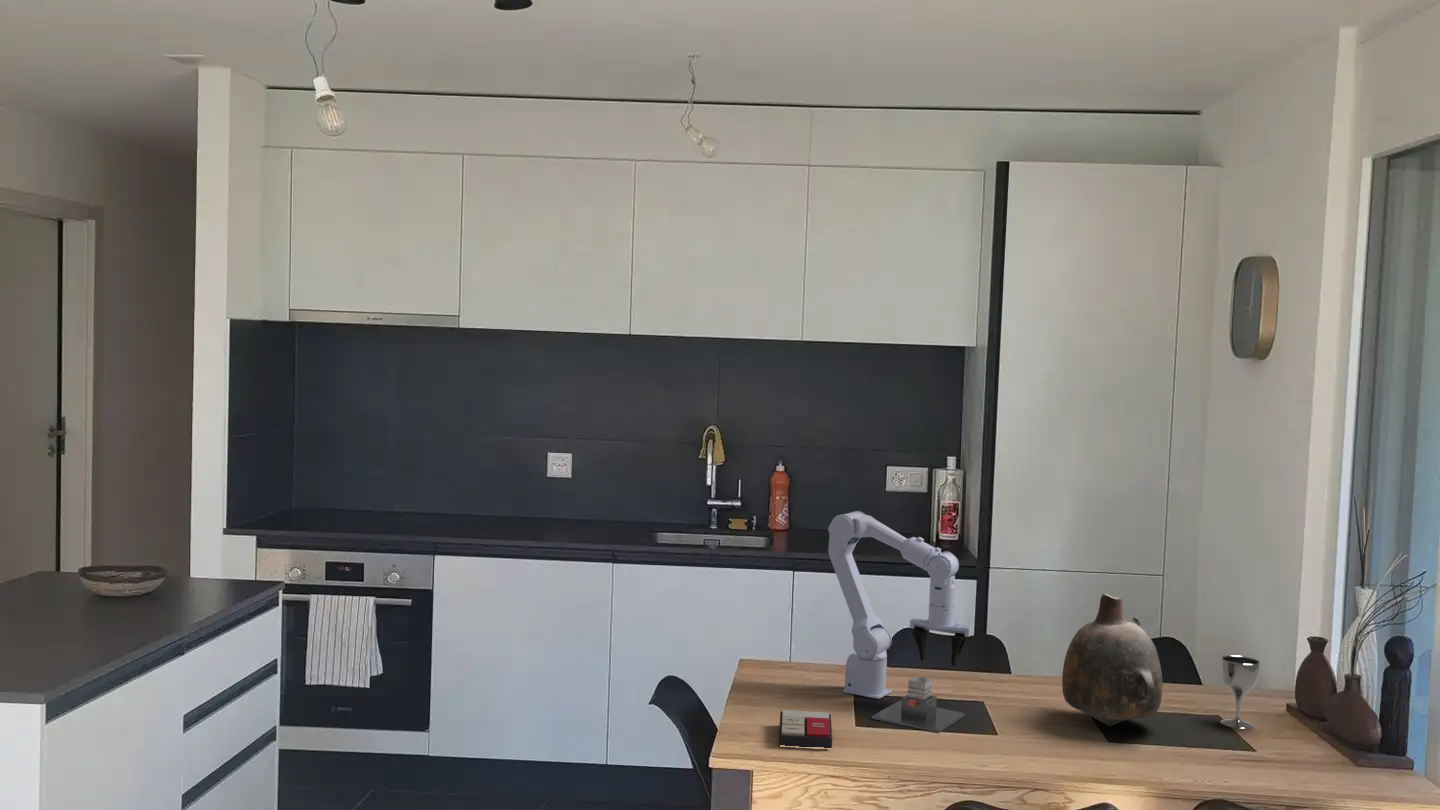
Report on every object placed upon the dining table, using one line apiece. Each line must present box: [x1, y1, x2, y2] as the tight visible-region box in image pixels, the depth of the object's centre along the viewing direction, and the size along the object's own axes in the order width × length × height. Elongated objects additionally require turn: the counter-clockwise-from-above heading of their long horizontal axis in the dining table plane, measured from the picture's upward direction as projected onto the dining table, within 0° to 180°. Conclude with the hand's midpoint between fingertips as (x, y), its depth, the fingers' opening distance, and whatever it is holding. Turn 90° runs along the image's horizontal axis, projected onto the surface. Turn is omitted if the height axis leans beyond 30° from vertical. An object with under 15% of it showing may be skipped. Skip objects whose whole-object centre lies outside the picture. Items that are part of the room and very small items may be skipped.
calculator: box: [778, 709, 833, 749], centre depth 256 cm, size 11×4×15 cm
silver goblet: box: [1220, 654, 1261, 730], centre depth 277 cm, size 8×8×15 cm
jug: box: [1061, 593, 1163, 727], centre depth 272 cm, size 24×21×30 cm
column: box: [907, 676, 933, 701], centre depth 273 cm, size 4×4×8 cm
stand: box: [871, 694, 966, 734], centre depth 273 cm, size 16×16×5 cm
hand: (938, 662), depth 282 cm, fingers open, 7 cm apart
